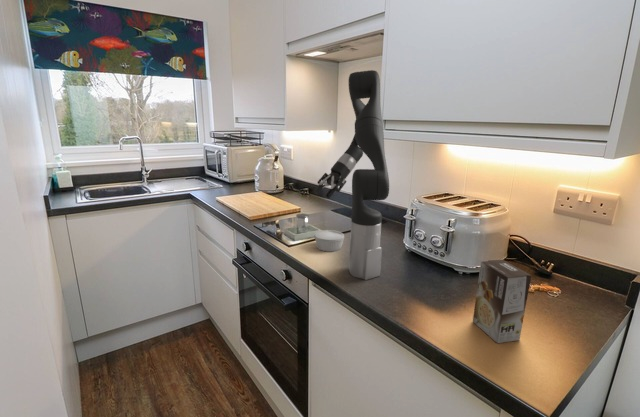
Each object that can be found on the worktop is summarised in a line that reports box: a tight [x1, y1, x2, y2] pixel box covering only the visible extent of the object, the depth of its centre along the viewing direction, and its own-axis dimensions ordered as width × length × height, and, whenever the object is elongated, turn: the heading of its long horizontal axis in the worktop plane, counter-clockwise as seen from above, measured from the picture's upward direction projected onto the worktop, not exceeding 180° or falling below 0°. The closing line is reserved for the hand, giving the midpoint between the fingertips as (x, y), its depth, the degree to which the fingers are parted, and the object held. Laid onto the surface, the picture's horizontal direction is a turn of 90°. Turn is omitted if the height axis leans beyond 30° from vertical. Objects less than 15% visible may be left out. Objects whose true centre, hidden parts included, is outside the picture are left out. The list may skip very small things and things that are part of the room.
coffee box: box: [472, 259, 532, 344], centre depth 79 cm, size 9×6×16 cm
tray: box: [283, 223, 322, 242], centre depth 143 cm, size 10×13×2 cm
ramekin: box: [314, 229, 345, 253], centre depth 130 cm, size 11×11×5 cm
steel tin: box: [295, 213, 310, 234], centre depth 143 cm, size 5×5×8 cm
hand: (321, 195), depth 144 cm, fingers open, 8 cm apart
